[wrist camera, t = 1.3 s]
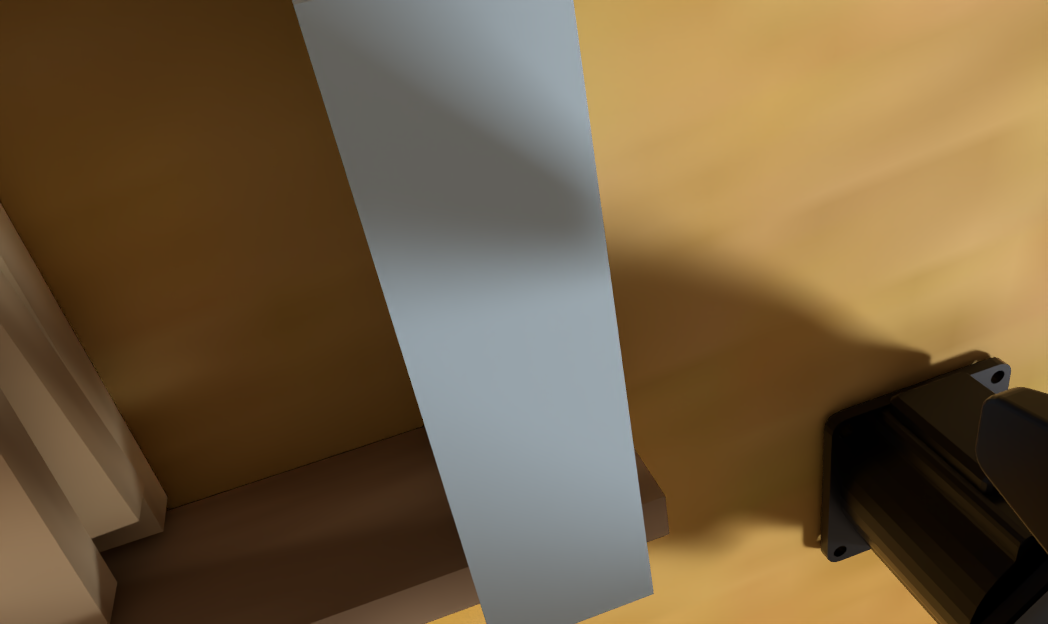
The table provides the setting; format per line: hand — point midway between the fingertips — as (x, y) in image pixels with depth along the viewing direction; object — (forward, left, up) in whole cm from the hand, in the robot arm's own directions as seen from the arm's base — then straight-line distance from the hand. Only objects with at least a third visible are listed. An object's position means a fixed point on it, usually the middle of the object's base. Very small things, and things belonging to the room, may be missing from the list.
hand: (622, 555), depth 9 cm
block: (0, 0, -12) cm, 12 cm away
